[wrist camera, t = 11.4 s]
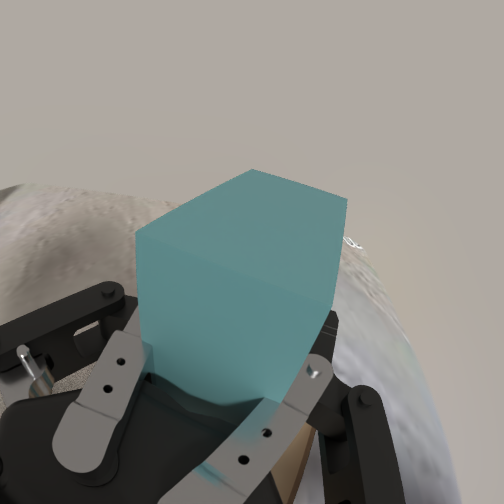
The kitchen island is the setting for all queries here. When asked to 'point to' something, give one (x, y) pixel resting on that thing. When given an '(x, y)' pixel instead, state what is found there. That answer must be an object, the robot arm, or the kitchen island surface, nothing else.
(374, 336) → the kitchen island surface
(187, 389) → the teal rectangular block
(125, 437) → the robot arm
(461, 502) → the kitchen island surface
